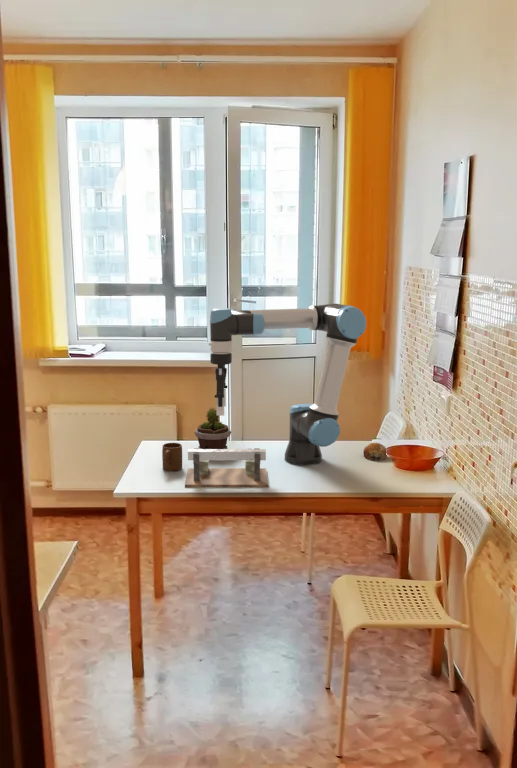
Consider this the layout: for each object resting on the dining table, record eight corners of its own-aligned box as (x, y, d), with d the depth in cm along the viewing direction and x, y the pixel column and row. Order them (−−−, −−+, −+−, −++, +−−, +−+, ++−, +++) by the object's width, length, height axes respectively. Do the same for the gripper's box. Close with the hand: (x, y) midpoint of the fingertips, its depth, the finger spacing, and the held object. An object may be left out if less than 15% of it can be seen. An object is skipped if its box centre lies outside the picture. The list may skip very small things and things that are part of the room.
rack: (265, 470, 255) (266, 440, 253) (268, 487, 238) (269, 455, 235) (187, 470, 254) (187, 440, 252) (184, 487, 236) (184, 455, 234)
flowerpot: (230, 459, 269) (230, 411, 265) (192, 458, 269) (192, 411, 265) (232, 449, 283) (232, 403, 279) (196, 448, 283) (196, 402, 279)
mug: (175, 476, 248) (175, 452, 246) (156, 474, 249) (155, 450, 247) (184, 466, 260) (184, 443, 258) (166, 464, 261) (165, 441, 259)
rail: (265, 457, 242) (265, 449, 242) (265, 460, 239) (265, 451, 239) (188, 457, 241) (188, 449, 241) (188, 460, 238) (187, 451, 237)
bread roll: (388, 465, 276) (392, 447, 277) (380, 461, 267) (384, 442, 268) (366, 461, 281) (370, 443, 282) (358, 457, 272) (362, 438, 274)
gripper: (212, 347, 246) (212, 402, 251) (208, 358, 222) (208, 419, 226) (232, 347, 246) (232, 402, 251) (230, 358, 222) (230, 419, 226)
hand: (221, 410), depth 238 cm, fingers open, 13 cm apart
